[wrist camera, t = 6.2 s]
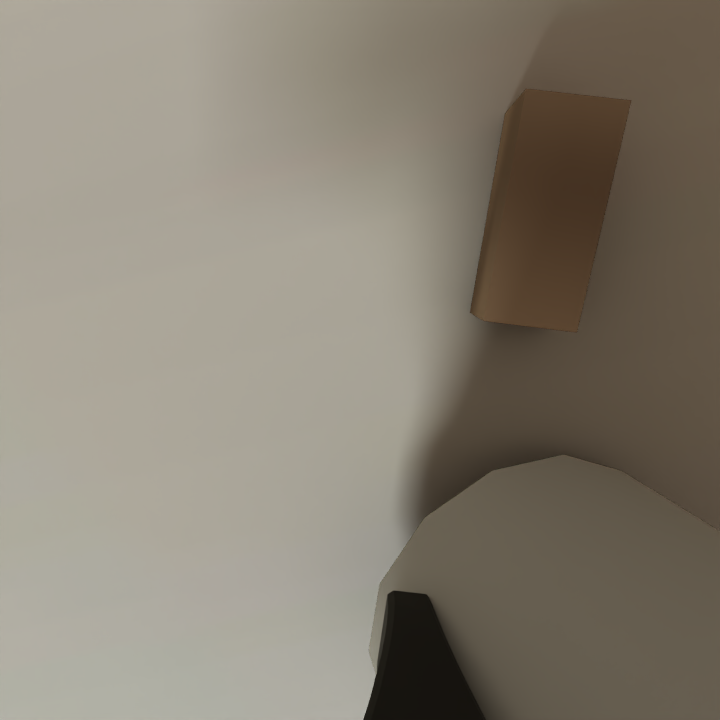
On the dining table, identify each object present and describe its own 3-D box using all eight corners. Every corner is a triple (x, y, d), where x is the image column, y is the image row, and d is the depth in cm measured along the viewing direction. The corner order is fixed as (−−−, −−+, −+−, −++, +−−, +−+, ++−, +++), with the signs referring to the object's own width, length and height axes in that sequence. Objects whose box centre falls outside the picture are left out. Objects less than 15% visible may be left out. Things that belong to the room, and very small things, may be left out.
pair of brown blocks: (429, 876, 15) (434, 941, 14) (372, 867, 15) (371, 930, 14) (594, 124, 10) (631, 100, 8) (504, 113, 10) (526, 88, 8)
